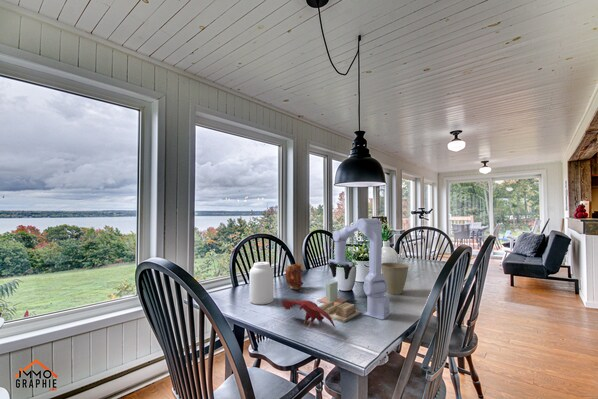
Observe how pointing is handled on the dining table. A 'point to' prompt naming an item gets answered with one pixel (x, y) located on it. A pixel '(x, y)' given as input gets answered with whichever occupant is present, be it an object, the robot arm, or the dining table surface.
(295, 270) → the orange-brown rough oval lump
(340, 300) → the mat
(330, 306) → the wooden blocks on board
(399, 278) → the plant pot
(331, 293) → the pale green block
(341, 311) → the offcut pile
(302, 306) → the red animal figurine
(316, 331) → the dining table surface
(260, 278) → the white jar
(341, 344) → the dining table surface
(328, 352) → the dining table surface
